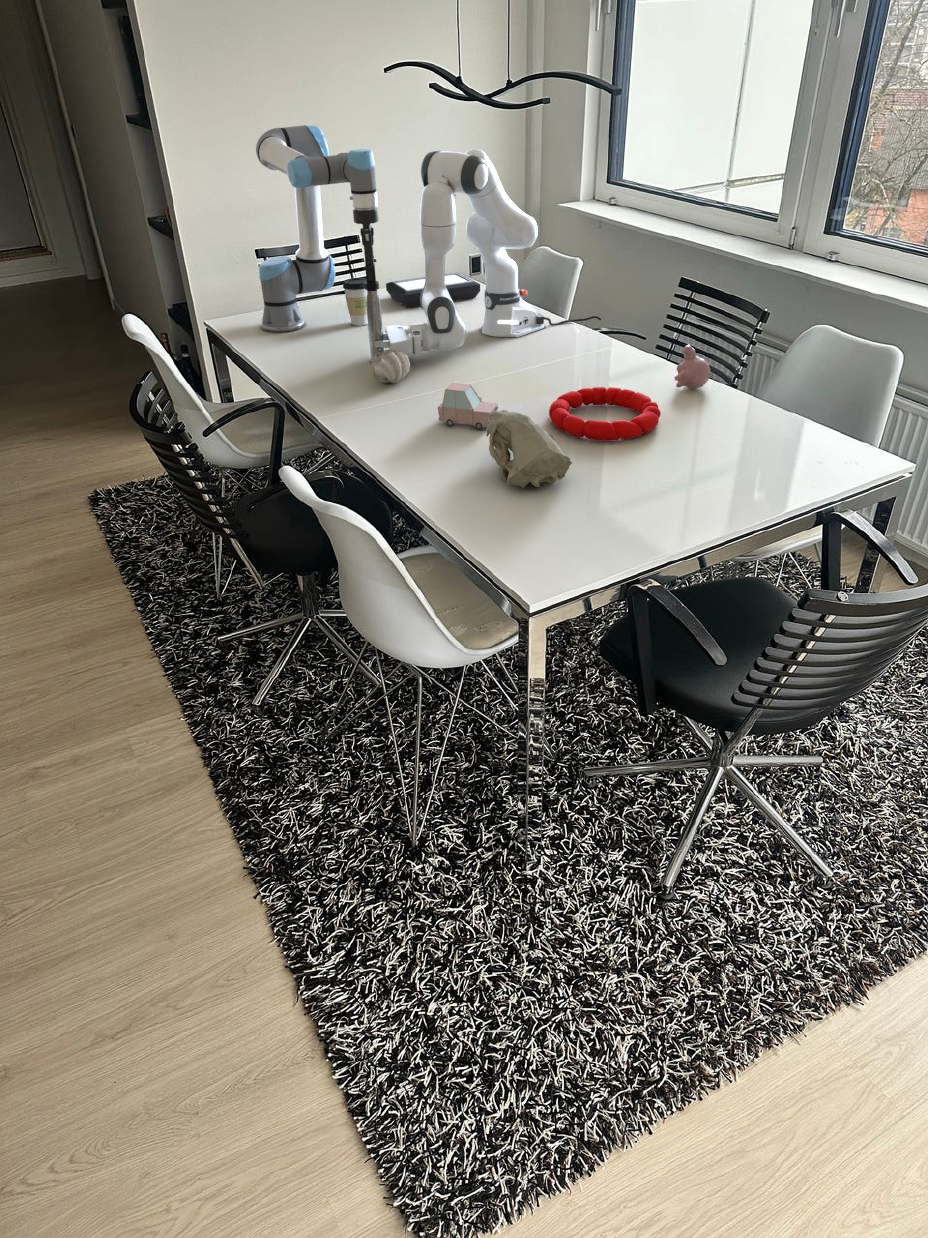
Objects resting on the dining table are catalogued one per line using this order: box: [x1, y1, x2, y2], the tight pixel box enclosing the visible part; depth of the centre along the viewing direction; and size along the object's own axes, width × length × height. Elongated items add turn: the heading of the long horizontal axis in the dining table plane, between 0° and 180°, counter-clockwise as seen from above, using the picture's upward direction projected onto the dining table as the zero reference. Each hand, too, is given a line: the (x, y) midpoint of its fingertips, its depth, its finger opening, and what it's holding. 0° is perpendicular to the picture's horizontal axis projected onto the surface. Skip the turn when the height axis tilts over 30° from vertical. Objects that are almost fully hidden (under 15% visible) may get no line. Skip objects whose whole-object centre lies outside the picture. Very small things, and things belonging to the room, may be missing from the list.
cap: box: [364, 280, 380, 291], centre depth 278 cm, size 4×4×2 cm
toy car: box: [437, 382, 499, 431], centre depth 243 cm, size 9×15×10 cm, turn 70°
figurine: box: [674, 344, 711, 390], centre depth 259 cm, size 9×11×12 cm
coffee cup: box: [342, 277, 368, 327], centre depth 323 cm, size 10×10×15 cm
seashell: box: [371, 349, 411, 384], centre depth 271 cm, size 10×15×10 cm
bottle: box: [366, 289, 385, 363], centre depth 285 cm, size 4×4×24 cm
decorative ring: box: [548, 386, 661, 442], centre depth 242 cm, size 7×30×30 cm
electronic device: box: [385, 272, 481, 309], centre depth 351 cm, size 32×6×20 cm
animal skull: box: [485, 409, 573, 489], centre depth 216 cm, size 17×25×20 cm
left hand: (371, 287), depth 278 cm, fingers open, 6 cm apart
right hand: (373, 341), depth 288 cm, fingers closed on bottle, 4 cm apart
